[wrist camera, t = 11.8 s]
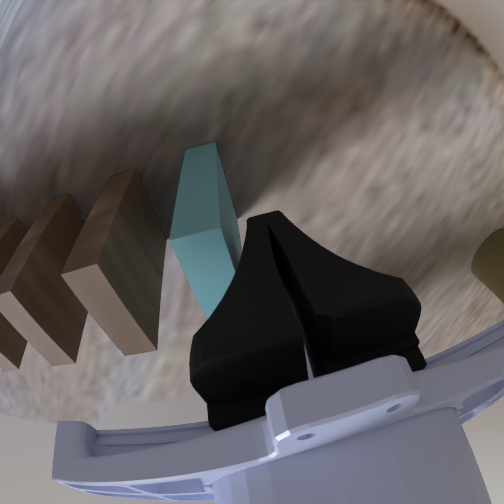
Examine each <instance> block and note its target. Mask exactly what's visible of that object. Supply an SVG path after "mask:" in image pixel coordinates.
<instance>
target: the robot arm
mask: <svg viewBox="0 0 504 504" xmlns="http://www.w3.org/2000/svg"><path fill="white" fill-rule="evenodd" d="M420 314H421V304H420V301H419V300H418V298H417V297H416V295H415V294H414V292H413V291H412V290H411V288H410V287H409V286H408V285H407V284H406V283H405V281H404V280H403V279H402V278H398V277H394V276H390V275H387V274H383V273H379V272H376V271H373V270H370V269H367V268H364V267H362V266H359V265H357V264H355V263H352V262H350V261H348V260H346V259H343V258H341V257H339V256H338V255H336V254H334V253H332V252H331V251H329V250H327V249H326V248H324V247H323V246H321V245H320V244H318V243H317V242H315V241H314V240H312V239H311V238H310V237H308V236H307V235H306V234H305V233H303V232H302V231H301V230H300V229H299V228H297V227H296V226H295V225H294V224H293V223H292V222H291V221H290V220H289V219H288V218H286V217H285V215H284V214H283V213H282V212H280V211H279V210H277V211H273V212H269V213H265V214H261V215H257V216H253V217H249V218H248V219H247V230H246V237H245V242H244V246H243V250H242V254H241V257H240V260H239V263H238V266H237V269H236V271H235V274H234V276H233V278H232V280H231V283H230V285H229V286H228V288H227V290H226V292H225V294H224V296H223V297H222V299H221V301H220V302H219V304H218V305H217V307H216V308H215V310H214V311H213V313H212V314H211V316H210V317H209V318H208V319H207V321H206V322H205V323H204V324H203V325H202V327H201V328H200V329H199V330H198V331H197V332H196V333H195V334H194V336H193V340H192V345H191V351H190V361H189V367H190V382H191V384H192V386H193V388H194V389H195V390H196V391H197V393H198V394H199V395H200V396H201V397H202V399H203V400H204V401H205V402H206V403H207V410H208V421H205V422H198V423H190V424H182V425H173V426H163V427H152V428H139V429H120V430H96V429H95V428H93V427H92V426H91V425H89V424H87V423H84V422H79V421H59V422H58V424H57V431H56V439H55V447H54V458H53V469H52V479H53V481H56V482H59V483H61V484H64V485H66V486H69V487H72V488H74V489H77V490H80V491H83V492H86V493H89V494H92V495H98V496H107V497H116V498H127V499H141V500H156V501H214V502H215V504H491V500H490V498H489V495H488V492H487V489H486V486H485V483H484V480H483V477H482V475H481V472H480V469H479V467H478V464H477V462H476V459H475V456H474V454H473V451H472V449H471V447H470V444H469V442H468V439H467V437H466V435H465V432H464V430H463V428H462V424H464V423H465V422H467V421H468V420H470V419H472V418H473V417H475V416H476V415H478V414H479V413H481V412H482V411H484V410H485V409H487V408H488V407H490V406H491V405H492V404H494V403H495V402H497V401H498V400H500V399H501V398H502V397H504V320H503V321H501V322H499V323H497V324H496V325H494V326H492V327H490V328H488V329H487V330H485V331H483V332H481V333H479V334H477V335H475V336H473V337H471V338H469V339H467V340H465V341H463V342H461V343H459V344H457V345H455V346H453V347H451V348H449V349H447V350H445V351H443V352H441V353H438V354H436V355H434V356H432V357H429V358H427V359H424V357H423V355H422V353H421V351H420V349H419V347H418V345H419V339H418V337H417V336H416V334H415V330H416V327H417V324H418V321H419V318H420Z"/></svg>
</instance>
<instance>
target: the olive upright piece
mask: <svg viewBox="0 0 504 504" xmlns="http://www.w3.org/2000/svg"><path fill="white" fill-rule="evenodd" d="M472 272H473V274H474V275H475V276H476V277H477V278H478V279H479V280H480V281H481V282H483V283H484V284H485V285H486V286H487V287H488V288H489V289H490V290H491V291H492V292H493V293H494V294H495V295H496V296H497V297H498V298H499V299H500V300H501V301H502V302H503V303H504V229H500V230H497V231H496V232H494V233H493V234H491V235H490V236H489V237H488V238H487V239H486V240H485V241H484V242H483V244H482V245H481V246H480V248H479V249H478V251H477V253H476V255H475V256H474V259H473V262H472Z"/></svg>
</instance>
